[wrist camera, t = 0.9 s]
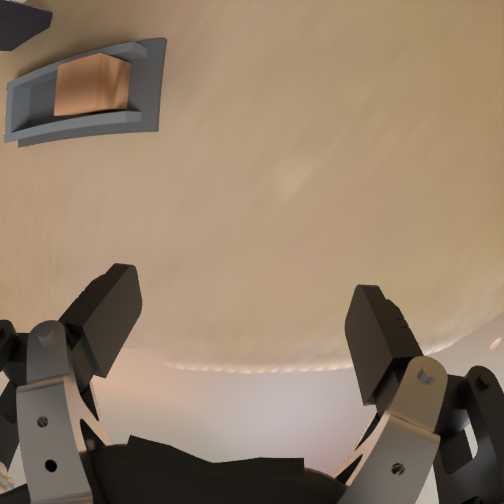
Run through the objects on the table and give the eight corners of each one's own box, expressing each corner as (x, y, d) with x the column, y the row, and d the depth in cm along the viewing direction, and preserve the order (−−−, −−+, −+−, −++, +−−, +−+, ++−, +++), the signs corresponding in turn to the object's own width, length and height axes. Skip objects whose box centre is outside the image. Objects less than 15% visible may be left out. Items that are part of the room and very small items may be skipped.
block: (92, 71, 24) (58, 65, 18) (131, 63, 24) (100, 52, 18) (88, 114, 27) (53, 116, 21) (126, 109, 27) (95, 108, 21)
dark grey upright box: (54, 9, 19) (-10, -8, 5) (50, 29, 21) (-18, 17, 7) (14, 34, 19) (-45, 31, 6) (10, 54, 21) (-52, 54, 8)
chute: (25, 77, 24) (4, 77, 20) (167, 39, 24) (151, 28, 19) (21, 146, 29) (1, 152, 25) (158, 131, 29) (141, 132, 25)
